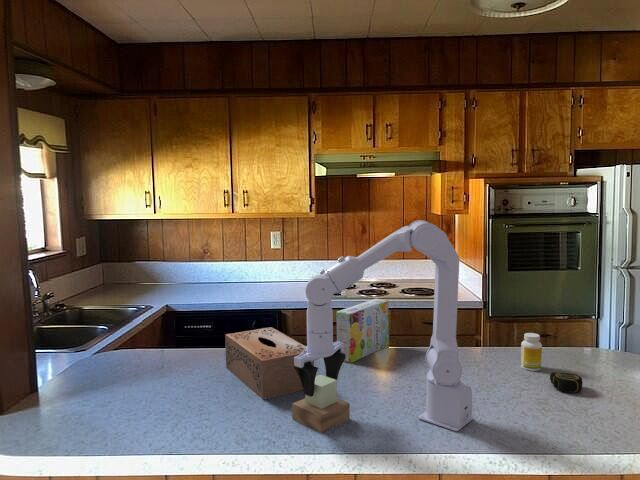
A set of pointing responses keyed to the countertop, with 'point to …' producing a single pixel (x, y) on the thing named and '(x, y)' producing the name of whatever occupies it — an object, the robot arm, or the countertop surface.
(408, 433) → the countertop surface
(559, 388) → the tape measure
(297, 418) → the walnut block
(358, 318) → the snack box
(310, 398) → the sage cube
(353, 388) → the countertop surface
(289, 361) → the tissue box cover
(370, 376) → the countertop surface
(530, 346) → the supplement bottle
